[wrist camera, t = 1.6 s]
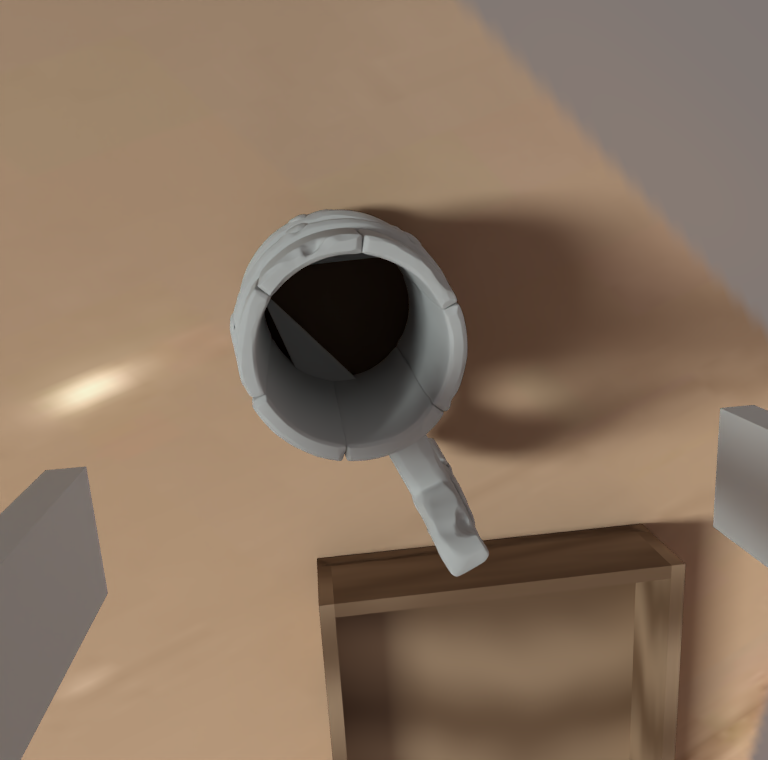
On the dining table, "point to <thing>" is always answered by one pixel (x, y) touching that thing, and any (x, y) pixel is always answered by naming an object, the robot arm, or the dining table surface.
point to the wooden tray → (506, 650)
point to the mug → (372, 387)
